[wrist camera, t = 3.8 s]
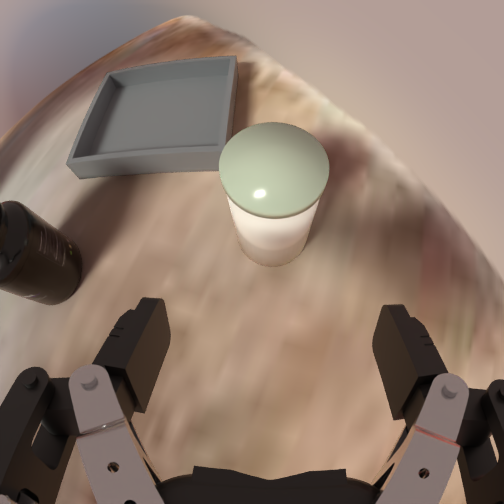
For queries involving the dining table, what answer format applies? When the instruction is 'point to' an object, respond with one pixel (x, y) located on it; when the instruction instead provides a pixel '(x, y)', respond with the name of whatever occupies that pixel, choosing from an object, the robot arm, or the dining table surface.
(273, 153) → the green capped canister
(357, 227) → the dining table surface
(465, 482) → the robot arm
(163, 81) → the tray
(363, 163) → the dining table surface
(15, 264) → the supplement bottle
